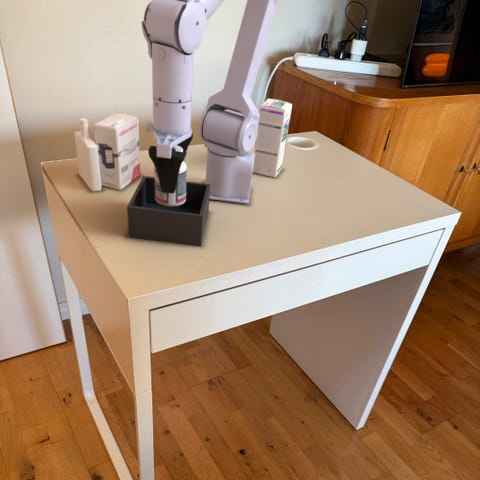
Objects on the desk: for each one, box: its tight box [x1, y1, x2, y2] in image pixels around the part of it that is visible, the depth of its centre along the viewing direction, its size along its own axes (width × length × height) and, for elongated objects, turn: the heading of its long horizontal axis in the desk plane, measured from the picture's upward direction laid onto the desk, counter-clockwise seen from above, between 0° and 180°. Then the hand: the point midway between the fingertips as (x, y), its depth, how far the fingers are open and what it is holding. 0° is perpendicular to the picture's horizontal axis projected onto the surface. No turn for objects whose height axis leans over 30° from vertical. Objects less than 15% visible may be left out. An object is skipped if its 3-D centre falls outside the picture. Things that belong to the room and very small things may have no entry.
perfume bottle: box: [73, 117, 102, 192], centre depth 86 cm, size 8×2×12 cm, turn 32°
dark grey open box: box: [126, 175, 211, 247], centre depth 79 cm, size 12×12×6 cm
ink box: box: [93, 112, 141, 191], centre depth 88 cm, size 8×5×12 cm, turn 162°
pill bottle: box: [153, 145, 188, 206], centre depth 75 cm, size 5×5×9 cm
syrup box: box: [253, 98, 293, 178], centre depth 99 cm, size 6×6×14 cm
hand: (171, 184), depth 76 cm, fingers closed on pill bottle, 5 cm apart
